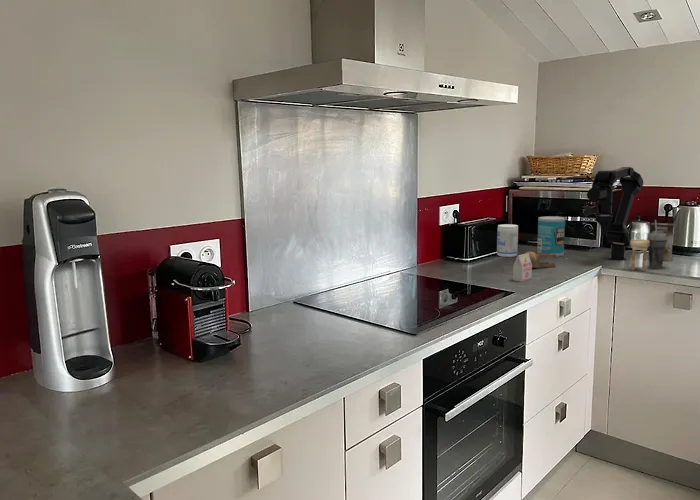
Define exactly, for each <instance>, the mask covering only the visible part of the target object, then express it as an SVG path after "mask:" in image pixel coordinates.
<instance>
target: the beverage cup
mask: <svg viewBox="0 0 700 500" xmlns="http://www.w3.org/2000/svg"><path fill="white" fill-rule="evenodd" d="M654 223H655V231H653V232H651V233H650V232H649V234H648V237H647V239H646V240H649V241H650V245H649V246H648V254H649V260H648V264H649V268H650V269H656V270H658V269H662V267H663V263H664V261H663V257H664V251H665V246H666V243H667V237H666V235H665V233H664V232H662V231H659V230H657V225H656V223H657V219H654Z"/></svg>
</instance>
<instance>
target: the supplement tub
mask: <svg viewBox="0 0 700 500" xmlns="http://www.w3.org/2000/svg"><path fill="white" fill-rule="evenodd" d="M496 234H497V236H496V255H498V256H499V257H503V258H512V257H513V258H514V257H517V255H518V248H519V246H518V244H519V225H517V224H511V223H510V224H509V223H508V224H507V223H505V224H498V225H497V233H496Z"/></svg>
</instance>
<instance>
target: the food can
mask: <svg viewBox="0 0 700 500" xmlns="http://www.w3.org/2000/svg"><path fill="white" fill-rule="evenodd" d="M565 230H566V218H565V217H563V216H557V215H556V216H553V215H552V216H551V215H549V216H546V215H545V216H539V217H538V219H537V247H536V249H537V252H536V253H550V254H555V255H556V258H560V257H563V256H564V255H565V232H566V231H565Z"/></svg>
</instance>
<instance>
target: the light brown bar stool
mask: <svg viewBox="0 0 700 500" xmlns="http://www.w3.org/2000/svg"><path fill="white" fill-rule="evenodd" d="M649 245H650V241H649V240H647V239H644V238H641V239H640V238H639V239H638V238H632V239H630V245H629V246H631V247H632V250H631V251H632V252H631V266H630V267H631V269H630V270H631V271H635V269H636V255H637V251H642V261H641V262H642V263H641V265H642V266H641V270H642V271H644V272H646V270H647V259H648V255H647V254H648V247H649Z"/></svg>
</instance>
